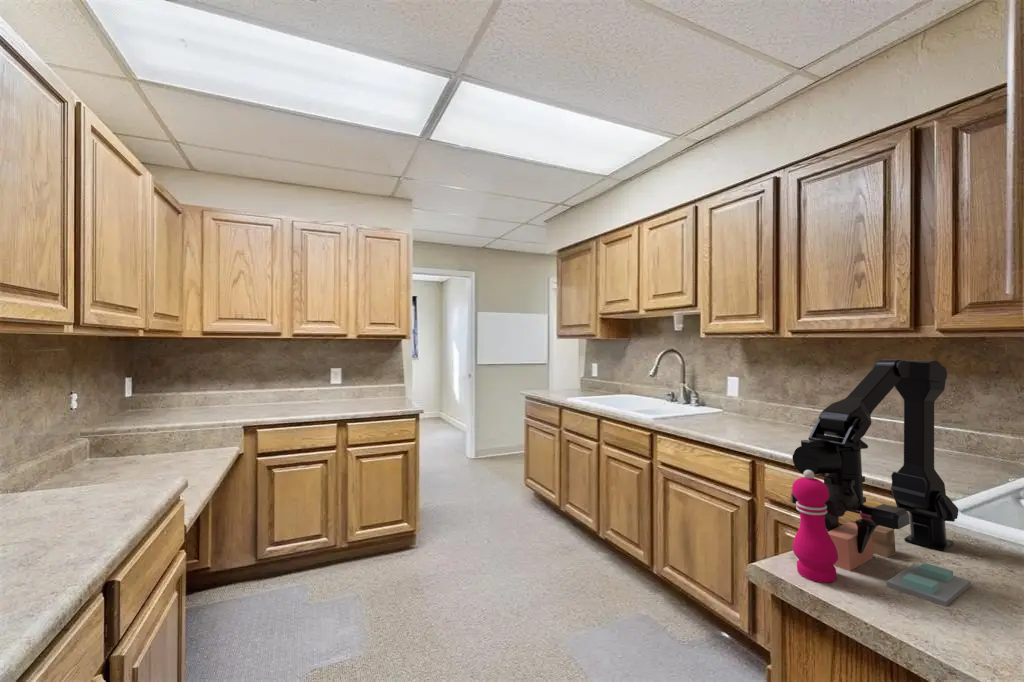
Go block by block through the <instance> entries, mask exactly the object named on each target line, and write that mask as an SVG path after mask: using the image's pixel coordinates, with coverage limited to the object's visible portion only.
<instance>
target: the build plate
mask: <svg viewBox="0 0 1024 682" xmlns="http://www.w3.org/2000/svg"><path fill="white" fill-rule="evenodd" d="M971 585H972V581H971V580H970V579H968V578H964V577H960V576H957V575H954V570H952V569H950V568H949V569H948V568H944V567H941V566H938V565H934V564H931V563H927V562H923V563H922V564H917V563H912V564H910V565H909V566H907V567H906V568H904V569H903V570H901V571H900V572H898V573H897V574H896V575H894V576H892V577H891V578H889V579H888V580H887V581H886V587H888V588H891V589H894V590H898V591H901V592H903V593H906V594H909V595H910V596H915V597H917V598H921V599H923V600H926V601H929V602H932V603H936V604H938V605H941V606H943V607H948V606H949V605H950V604H952V602H954V601H955V600H956V599H957V598H958V597H959V596H960V595H962V594H964V592H965V591H966V590H967V589H969V587H970V586H971Z"/></svg>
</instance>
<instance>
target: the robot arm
mask: <svg viewBox="0 0 1024 682" xmlns="http://www.w3.org/2000/svg"><path fill="white" fill-rule="evenodd" d="M947 378H948V371H947V369H946V367H945V366H943V365H942V363H940V362H939V361H937V360H904V359H900V358H899V359H897V358H896V359H895V358H894V359H893V358H892V359H891V358H890V359H889V358H888V359H887V358H885V359H880V360H877V361H875V362H874V363H873V367H872V369H871V370H870V372H869V373H867V374H866V375H865V377H864V378H863V379H861V381H860V382H859V383H858V384H857V385H856V387H854V389H853V390H852V391H851V392H850V393H849V394H848V395H847V396H846V397H845V398H843V399H840V400H839V401H835V402H832V403H831V404H829V405H828V406H826V407H825V408H824V409H823V410H822V411H821V412H820V414H819V415H818V419H817V420H816V422H815V424H814V425H813V427H812V430H811V432H810V434H809V436H808V439H802V440H800V446H798V447H796V448H795V450H794V452H793V454H792V457H791V458H792V462H793V464H794V467H795V469H796V470H797V471H798V472H799V473H800V474H802V475H803V473H804V471H805V470H811V471H813V473H814V476H819V475H824V478H823V483H824V484H825V485H826V486H827V488H828V490H829V499H828V500H827V501H826V502H825V504H826V505H827V508H826V509H827V514H825V526H826V529H827V532H828V531H831V530H833V529H835V528H837V527H839V526H840V525H839V523H840V522H839V518H840V517H843V516H844V515H845V514H846V512H847V513H848V512H850V513H855V514H859V515H860V519H857V520H855V521H854V524H856V525H857V527H858V538H857V547H858V553H863V551H864V549H865V547H866V545H867V542H868V540H869V538H870V536H871V534H872V532H873V531H874V529H875V528H876V527H877V526H879V525H880V526H883V527H887V528H891V529H894V530H900V529H902V528H904V527H906V526H908V525H909V528H910V534H909V535H908V536H905V537H904V539H903V540H904V541H905V542H908V543H913V544H916V545H919V546H924V547H927V548H931V549H935V550H938V551H942V552H944V551H946V549H948V548H950V547H951V546H953V545H954V541H953V540H951V539H947V528H946V522H956V519H958V516H959V508H958V507H957V505H956V504H955V503H954V502H953V501H952V500H951V499H950V497H948V495H947V494H946V485H945V482H944V481H943V480H942V478H941V477H940V475H939V474H938V472H937V471H936V469H935V402H936V401H937V399H938V398H939V397H940V396H941V395H942V394H943V392H944V391H945V389H946V388H945V387H946V380H947ZM894 388H895V390H896V391H897V393H898V394H899V395H900V397H902V399H903V465H902V466H901V467H900V469H899V470H897V472H896V471H893V472H892V474H891V476H890V477H891V487H890V491H891V492H892V493H891V494H892V496H893V499H894V502H895V504H896V506H894V505H889V504H885V503H882V504H879V505H876V506H871V505H870V506H869V505H866V504H865V503H867V498H866V496H864V490H863V489H864V487H863V483H865V482H866V476H865V475H864V476H863V468H862V466H863V465H862V450H863V449H864V450H865V449H869V445H868V443H866V442H864V441H863V440H862V438H863V437H864V436H866V434H867V432H868V430H869V428H870V427H871V425H872V417H871V414H872V413H873V411H874V410H875V409H876V408H877V407H878V406H879V405H880V403H881V402H882V401H883V400H884V399H885V398H886V396H887V395H888V394H889V393H890V392H891V391H892V390H893V389H894ZM790 497H791V503H792V504H795V505H796V502H797V501H798V500H797V499H796V498H795V497H794V495H793V493H792V492H791V496H790Z"/></svg>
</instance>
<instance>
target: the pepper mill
mask: <svg viewBox="0 0 1024 682" xmlns="http://www.w3.org/2000/svg"><path fill="white" fill-rule="evenodd" d="M802 476H803V477H800V478H797V479H795V481H793V483H792V486H791V494H792V493H793V495H794V497H795V498H796V499H797V500H798V501H797V502H796V504H795V505H796V506H795V507H796V508H795V509H796V510H797V511H798V512H799V518H800V519H799V523H800V524H799V527H798V529H797V532H796V533H795V536H794V538H793V542H792V552H793V554H794V556H796V558H797V559H798V560H796V570H797V573H798V574H799V575H800V576H801V577H803V578H804V577H805V579H807V580H808V581H809V580H810V581H811V582H818V583H826V584H828V583H833V582H835V581H836V580H837V567H836V566H834V564H835V563H836V562H837V560H838V553H837V549H836V547H835V544H834V542H833V541H832V539H831V537H830V536H829V534H828V531H827V529H826V526H825V514H827V509H826V508H827V505H826V504H825V502H826V501H827V500H828V499H829V490H828V488H827V486H826V485H825V484H824V481H821V480H820V479H818V478H815V475H814V473H813V471H811V470H805V471H804V473H803V474H802Z"/></svg>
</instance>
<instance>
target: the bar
mask: <svg viewBox="0 0 1024 682" xmlns="http://www.w3.org/2000/svg"><path fill="white" fill-rule="evenodd" d="M827 532H828V534H829V536H830V537H831V539H832V541H833V542H834V544H835V547H836V549H837V553H838V560H837V562H836V563H835V564H834V565H833V566H834V567H836V568H839V567H840V569H842V570H845V571H848V572H851V571H852V570H854V569H856V568H858V567H859V566H861V565H863V564H865V563H866V562H868V561H869V560H871V559H873V558H874V554H873V546H872V534H871V536H870V538H869V540H868V542H867V545H866V547H865V549H864V551H863V553H858V547H857V538H858V527H857V525H856V523H855V522H854V523H853V522H850V521H848V522H846V523H843V524H842V525H839V527H837V528H835V529H833V530H831V531H827Z"/></svg>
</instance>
